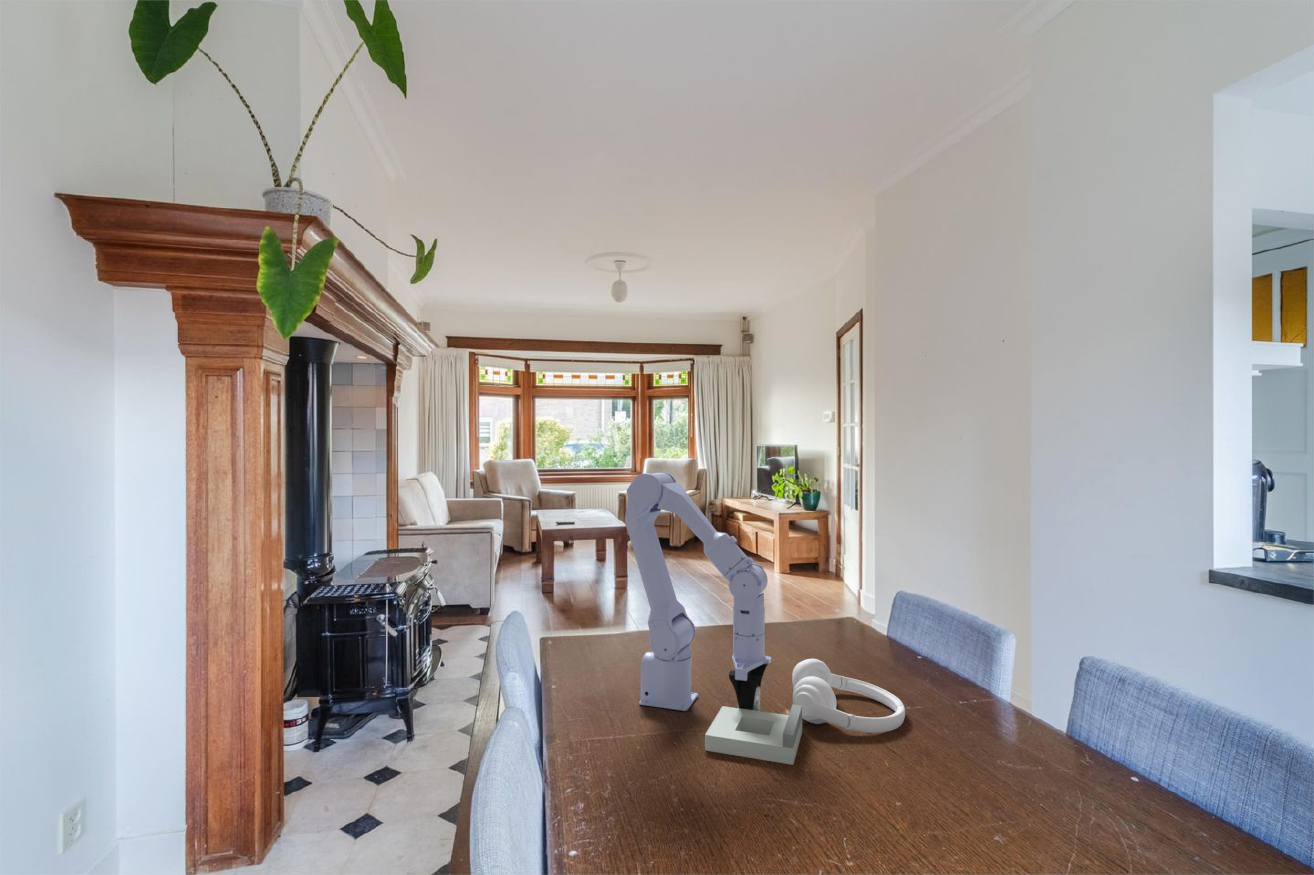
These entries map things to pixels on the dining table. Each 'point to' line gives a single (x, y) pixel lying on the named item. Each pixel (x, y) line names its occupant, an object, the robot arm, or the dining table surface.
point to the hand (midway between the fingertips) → (748, 706)
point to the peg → (756, 700)
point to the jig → (771, 746)
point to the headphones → (820, 699)
